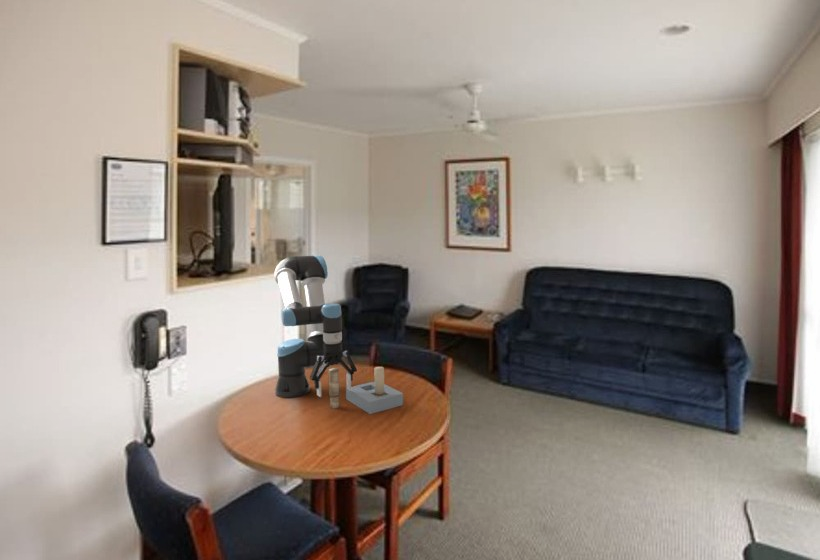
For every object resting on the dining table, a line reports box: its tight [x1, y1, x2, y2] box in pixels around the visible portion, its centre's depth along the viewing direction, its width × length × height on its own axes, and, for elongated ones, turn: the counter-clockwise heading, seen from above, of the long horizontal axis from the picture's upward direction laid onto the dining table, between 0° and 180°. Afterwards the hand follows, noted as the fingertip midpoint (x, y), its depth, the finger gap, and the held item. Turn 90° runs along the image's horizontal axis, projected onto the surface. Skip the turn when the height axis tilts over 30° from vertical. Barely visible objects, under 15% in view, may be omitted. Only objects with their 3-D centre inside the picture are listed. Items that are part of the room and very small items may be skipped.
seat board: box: [345, 366, 404, 415], centre depth 203 cm, size 20×16×16 cm
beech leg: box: [328, 367, 340, 410], centre depth 198 cm, size 4×4×16 cm
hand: (334, 392), depth 198 cm, fingers open, 13 cm apart
